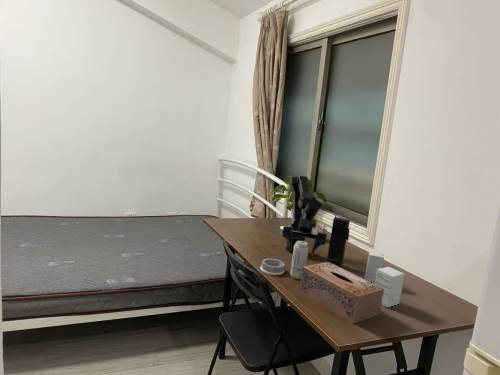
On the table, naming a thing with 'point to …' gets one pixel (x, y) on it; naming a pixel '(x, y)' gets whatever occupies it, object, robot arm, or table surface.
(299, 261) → the energy drink can
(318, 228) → the architectural model on board
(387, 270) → the supplement box
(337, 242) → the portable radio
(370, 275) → the skincare box
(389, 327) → the table surface
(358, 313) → the tissue box cover
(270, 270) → the dock
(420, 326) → the table surface
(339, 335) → the table surface
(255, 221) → the table surface
